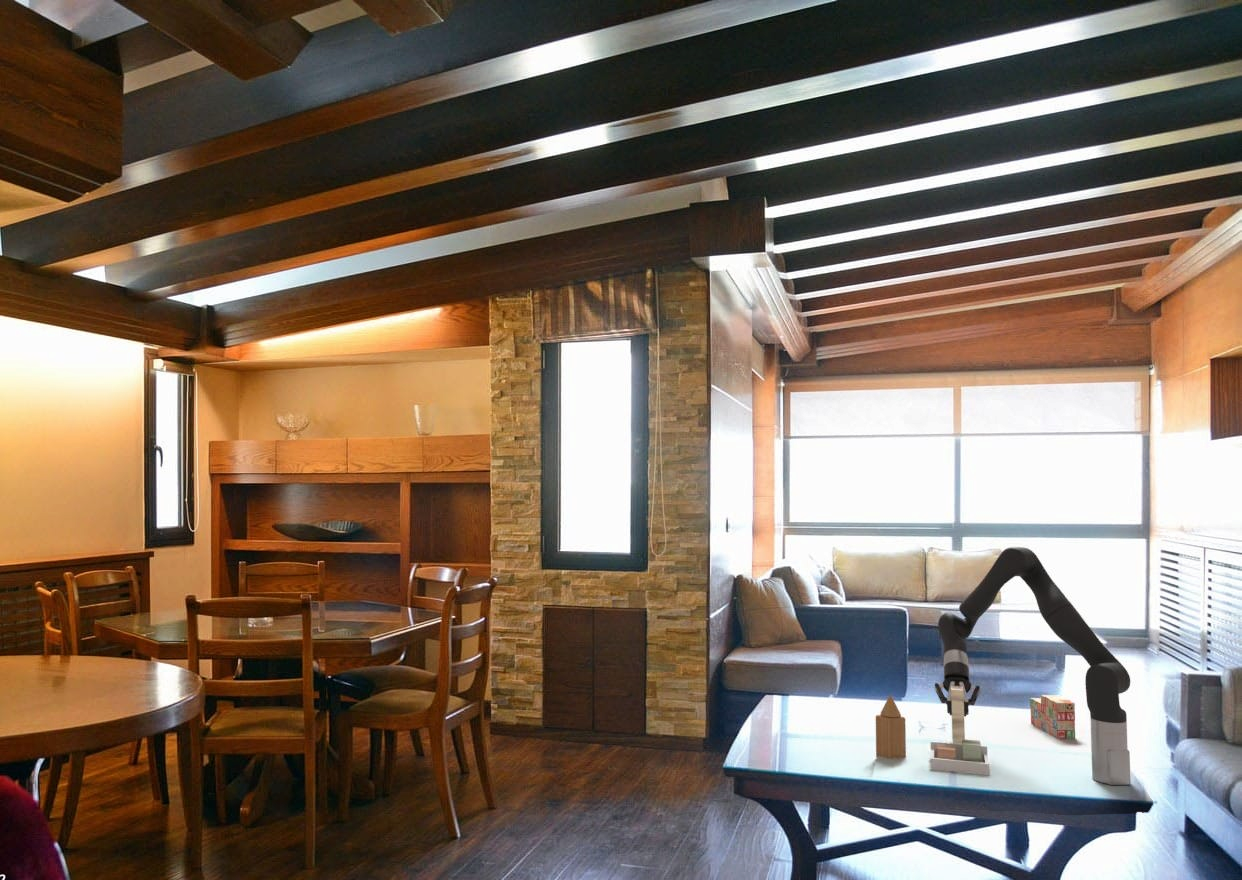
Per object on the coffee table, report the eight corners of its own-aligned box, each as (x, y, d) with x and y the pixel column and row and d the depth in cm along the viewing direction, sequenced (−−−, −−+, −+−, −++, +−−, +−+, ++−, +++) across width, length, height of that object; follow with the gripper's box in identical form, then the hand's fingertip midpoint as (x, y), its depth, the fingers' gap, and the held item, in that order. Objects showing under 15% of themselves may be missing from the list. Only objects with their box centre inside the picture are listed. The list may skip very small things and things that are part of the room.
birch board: (964, 744, 271) (963, 690, 272) (952, 743, 272) (951, 689, 273) (964, 738, 277) (962, 686, 279) (952, 737, 278) (951, 685, 280)
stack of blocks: (1030, 723, 324) (1029, 689, 325) (1047, 724, 324) (1046, 689, 325) (1057, 738, 303) (1056, 702, 304) (1076, 739, 303) (1074, 702, 304)
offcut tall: (981, 770, 260) (980, 745, 261) (963, 768, 262) (962, 744, 262) (980, 764, 266) (980, 740, 266) (962, 763, 267) (962, 739, 268)
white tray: (989, 780, 256) (989, 757, 256) (930, 774, 261) (930, 751, 261) (985, 758, 278) (985, 736, 279) (931, 753, 283) (930, 732, 284)
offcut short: (955, 767, 263) (955, 749, 263) (937, 765, 265) (937, 748, 265) (955, 762, 268) (955, 745, 268) (937, 761, 269) (937, 744, 270)
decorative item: (906, 761, 274) (905, 695, 276) (890, 763, 271) (889, 696, 273) (891, 755, 280) (890, 691, 282) (875, 758, 277) (874, 692, 279)
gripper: (932, 659, 286) (933, 705, 273) (980, 661, 281) (983, 709, 269) (933, 673, 290) (933, 719, 278) (979, 676, 286) (982, 723, 273)
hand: (958, 714), depth 273 cm, fingers closed on birch board, 3 cm apart
